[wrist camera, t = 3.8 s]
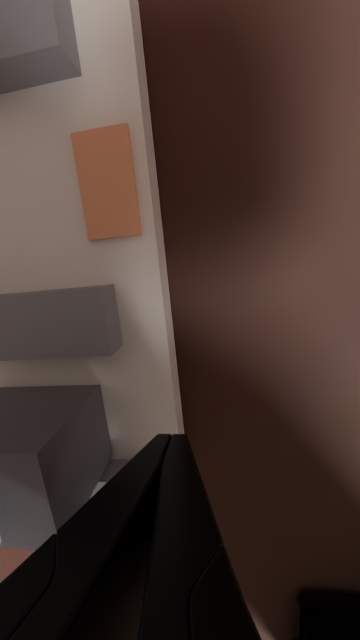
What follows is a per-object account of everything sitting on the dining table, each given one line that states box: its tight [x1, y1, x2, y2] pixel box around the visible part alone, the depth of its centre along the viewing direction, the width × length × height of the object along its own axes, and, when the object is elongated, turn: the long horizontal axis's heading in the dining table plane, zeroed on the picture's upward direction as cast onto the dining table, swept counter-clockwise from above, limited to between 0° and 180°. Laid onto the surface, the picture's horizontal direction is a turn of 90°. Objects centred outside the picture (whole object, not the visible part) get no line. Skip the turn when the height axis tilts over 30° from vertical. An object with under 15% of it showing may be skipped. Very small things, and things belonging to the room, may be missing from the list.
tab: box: [0, 385, 113, 550], centre depth 7 cm, size 4×3×4 cm
